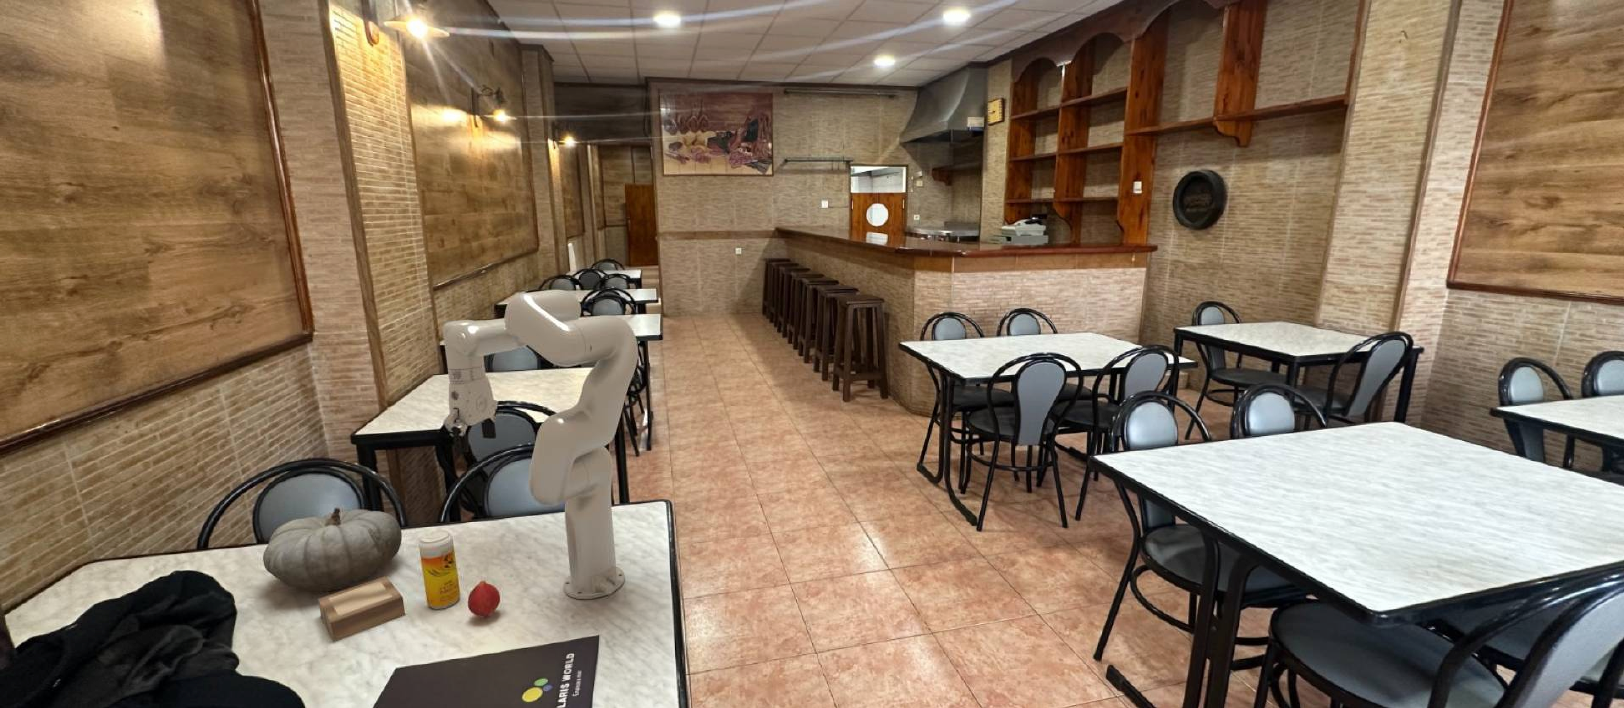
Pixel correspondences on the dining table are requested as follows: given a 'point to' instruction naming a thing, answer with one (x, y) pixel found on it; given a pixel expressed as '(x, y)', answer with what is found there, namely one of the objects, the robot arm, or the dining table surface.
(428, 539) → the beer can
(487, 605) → the onion
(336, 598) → the walnut plinth
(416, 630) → the dining table surface
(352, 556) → the gourd
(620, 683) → the dining table surface
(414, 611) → the dining table surface
